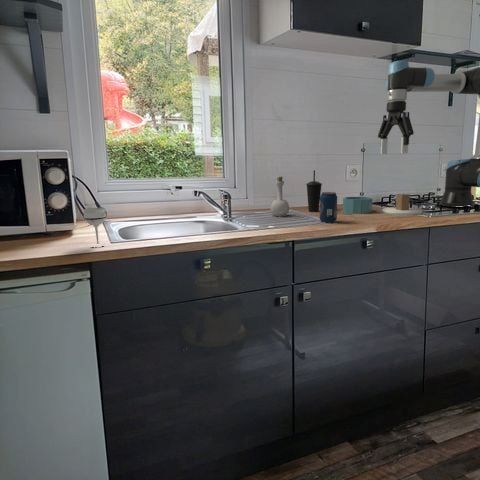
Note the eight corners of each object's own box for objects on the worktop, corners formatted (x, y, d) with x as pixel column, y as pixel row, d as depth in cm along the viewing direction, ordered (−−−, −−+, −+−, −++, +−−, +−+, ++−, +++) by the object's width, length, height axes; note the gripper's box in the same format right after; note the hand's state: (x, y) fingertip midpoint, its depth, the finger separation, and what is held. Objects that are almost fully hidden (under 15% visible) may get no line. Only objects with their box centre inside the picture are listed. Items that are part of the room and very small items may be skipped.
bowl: (361, 210, 190) (362, 196, 188) (377, 213, 177) (378, 198, 176) (337, 212, 186) (338, 197, 185) (352, 215, 174) (352, 200, 173)
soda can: (318, 220, 164) (319, 192, 161) (335, 220, 163) (336, 191, 160) (320, 223, 157) (321, 193, 154) (337, 223, 156) (338, 193, 154)
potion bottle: (278, 217, 174) (277, 177, 170) (266, 215, 181) (266, 176, 177) (293, 215, 178) (293, 176, 174) (281, 213, 185) (281, 175, 182)
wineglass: (111, 243, 128) (107, 207, 125) (107, 248, 121) (103, 210, 119) (89, 244, 127) (85, 208, 125) (84, 249, 120) (80, 211, 118)
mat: (405, 210, 188) (405, 208, 187) (432, 214, 171) (432, 213, 170) (373, 212, 183) (373, 210, 183) (397, 217, 166) (397, 216, 166)
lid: (405, 209, 187) (406, 192, 185) (431, 213, 171) (432, 195, 169) (374, 211, 183) (375, 193, 181) (398, 215, 167) (399, 196, 165)
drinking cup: (317, 213, 185) (318, 170, 181) (303, 211, 190) (303, 170, 185) (324, 211, 191) (325, 170, 187) (310, 210, 196) (310, 170, 191)
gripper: (371, 105, 172) (368, 154, 176) (409, 96, 148) (405, 153, 153) (385, 105, 174) (383, 153, 178) (425, 97, 150) (421, 152, 154)
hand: (393, 153), depth 165 cm, fingers open, 13 cm apart
